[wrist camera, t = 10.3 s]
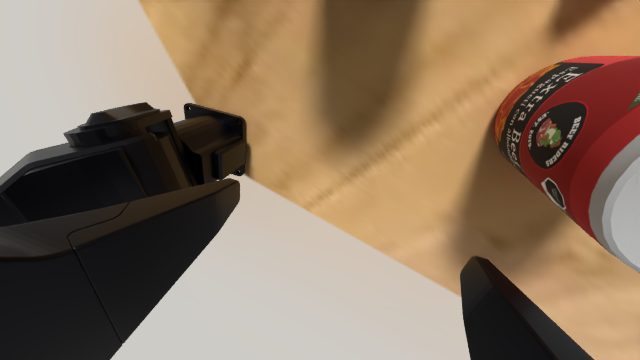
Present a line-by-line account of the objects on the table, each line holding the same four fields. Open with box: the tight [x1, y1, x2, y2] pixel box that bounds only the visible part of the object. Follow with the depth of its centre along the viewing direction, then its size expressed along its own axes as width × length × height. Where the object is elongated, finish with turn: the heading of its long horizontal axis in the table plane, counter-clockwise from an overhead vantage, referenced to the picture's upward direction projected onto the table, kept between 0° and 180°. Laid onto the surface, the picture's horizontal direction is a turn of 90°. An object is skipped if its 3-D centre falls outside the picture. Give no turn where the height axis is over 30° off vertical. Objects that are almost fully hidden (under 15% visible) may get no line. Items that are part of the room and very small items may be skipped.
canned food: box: [495, 56, 640, 273], centre depth 11 cm, size 8×8×11 cm
